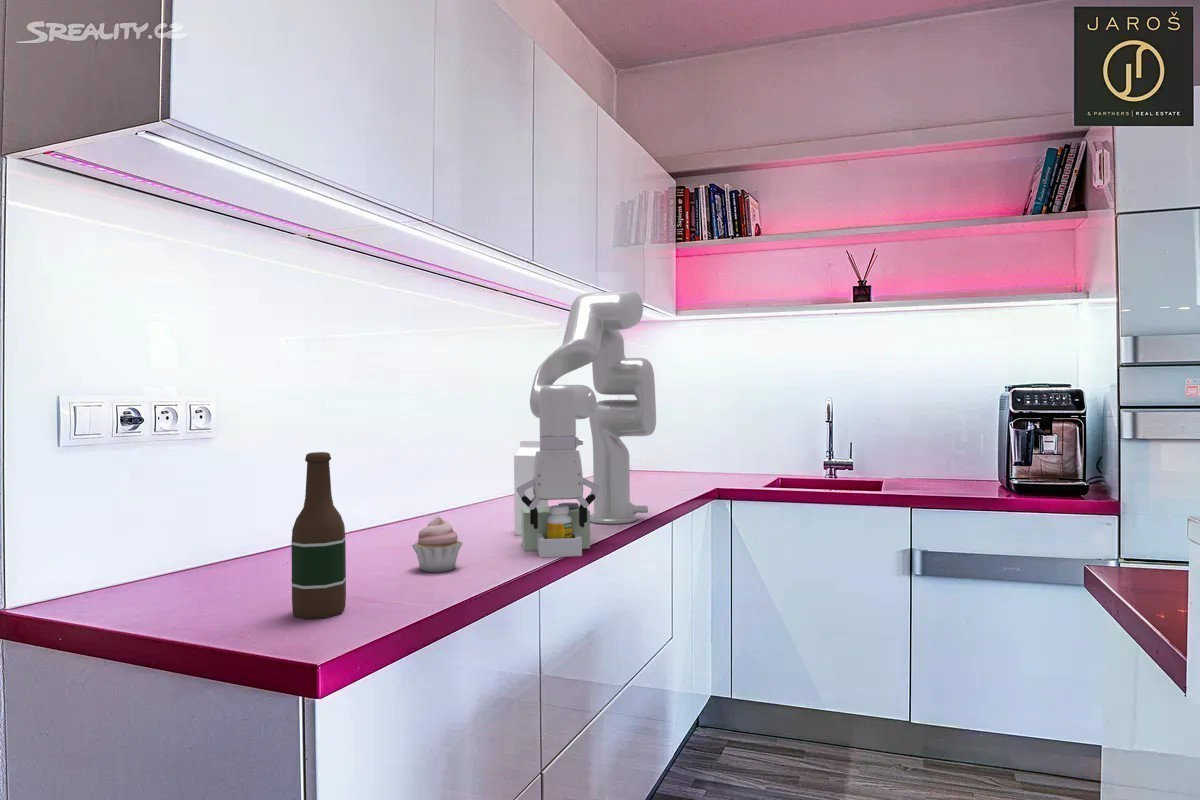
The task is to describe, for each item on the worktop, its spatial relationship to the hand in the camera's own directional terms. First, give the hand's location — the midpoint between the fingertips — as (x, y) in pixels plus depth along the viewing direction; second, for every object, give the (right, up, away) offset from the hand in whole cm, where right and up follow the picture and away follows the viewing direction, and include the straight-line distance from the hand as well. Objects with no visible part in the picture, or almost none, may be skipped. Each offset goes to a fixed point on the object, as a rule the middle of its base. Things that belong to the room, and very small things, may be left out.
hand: (558, 527), depth 158 cm
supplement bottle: (0, -6, 0) cm, 6 cm away
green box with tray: (-1, -5, +4) cm, 7 cm away
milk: (-8, -6, +23) cm, 25 cm away
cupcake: (-22, -6, -14) cm, 27 cm away
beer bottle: (-34, -6, -44) cm, 55 cm away
